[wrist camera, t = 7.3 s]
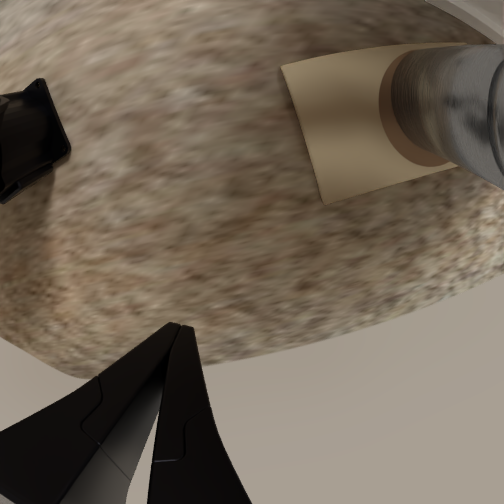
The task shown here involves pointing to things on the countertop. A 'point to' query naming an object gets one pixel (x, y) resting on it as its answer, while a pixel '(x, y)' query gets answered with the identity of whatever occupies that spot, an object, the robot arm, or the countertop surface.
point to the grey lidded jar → (455, 105)
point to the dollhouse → (477, 15)
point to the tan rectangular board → (356, 121)
